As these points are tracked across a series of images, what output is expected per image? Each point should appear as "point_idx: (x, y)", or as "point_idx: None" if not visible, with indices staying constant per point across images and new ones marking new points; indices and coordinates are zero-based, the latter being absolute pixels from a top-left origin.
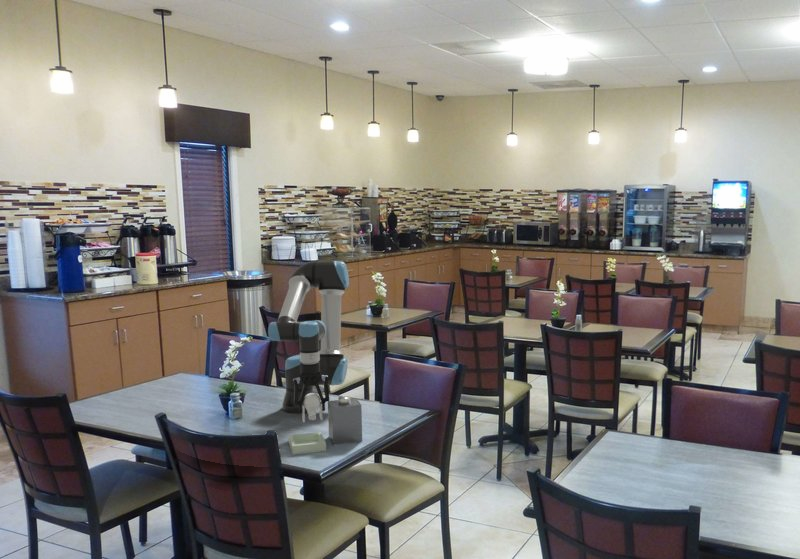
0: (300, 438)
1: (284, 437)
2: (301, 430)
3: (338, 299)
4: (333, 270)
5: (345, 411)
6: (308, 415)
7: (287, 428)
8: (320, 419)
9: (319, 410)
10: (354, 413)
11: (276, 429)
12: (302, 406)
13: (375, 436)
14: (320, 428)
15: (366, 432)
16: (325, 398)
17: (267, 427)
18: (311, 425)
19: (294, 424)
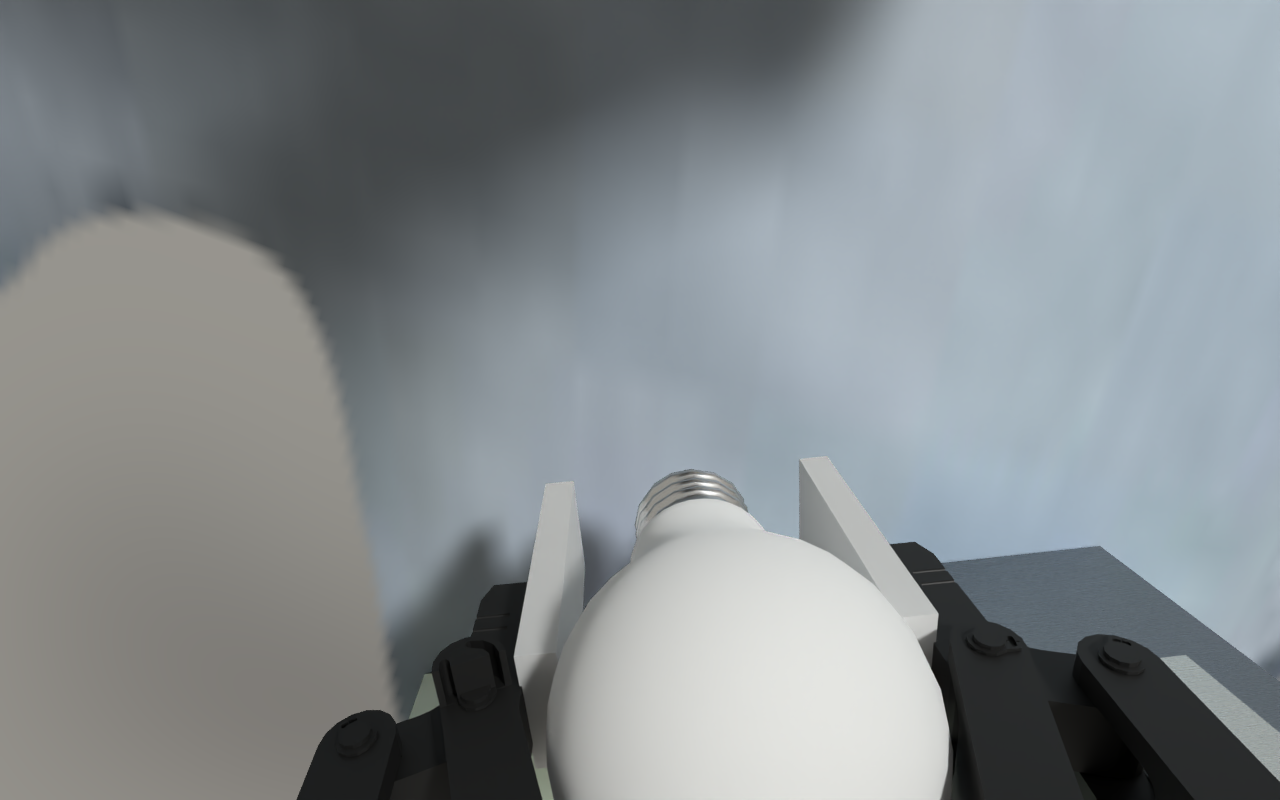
0: None
1: (361, 504)
2: (544, 313)
3: None
4: None
5: None
6: (640, 530)
7: (361, 191)
8: (799, 518)
9: (835, 527)
10: None
11: (215, 198)
12: (536, 757)
13: (1224, 638)
14: (773, 291)
15: (1197, 524)
16: (1070, 754)
17: (62, 72)
18: (676, 139)
19: (444, 27)
